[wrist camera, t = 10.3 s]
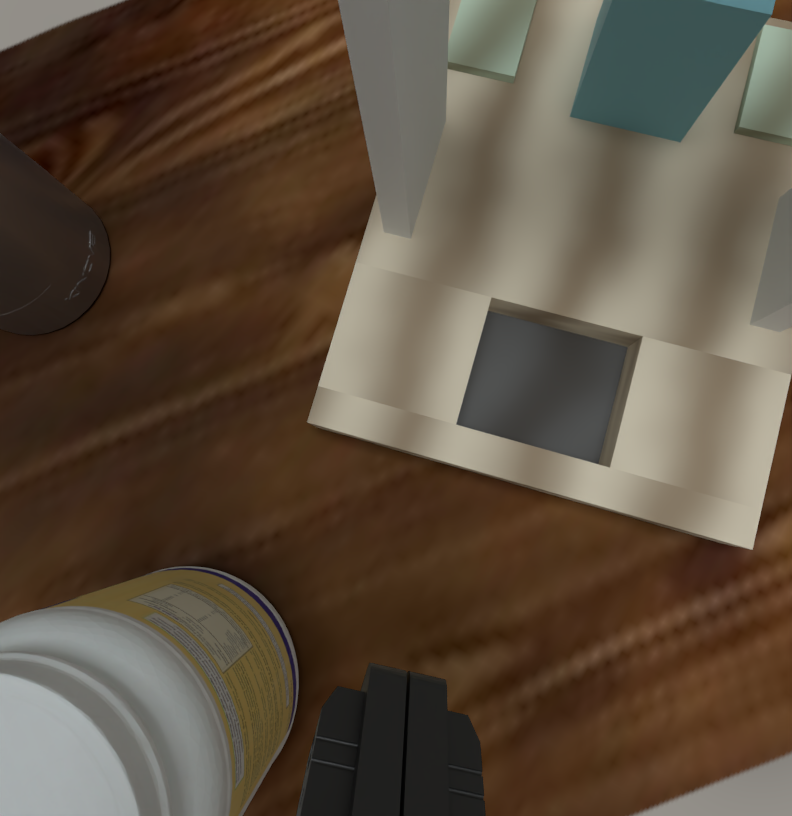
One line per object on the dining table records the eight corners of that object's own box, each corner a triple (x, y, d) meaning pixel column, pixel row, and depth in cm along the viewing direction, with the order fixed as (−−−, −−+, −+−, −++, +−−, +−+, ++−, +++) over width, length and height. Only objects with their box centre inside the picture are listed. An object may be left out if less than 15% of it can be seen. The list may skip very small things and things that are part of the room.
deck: (317, 427, 35) (304, 421, 32) (449, -7, 38) (450, -58, 35) (723, 544, 33) (759, 551, 30) (830, 74, 36) (874, 29, 32)
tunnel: (384, 232, 33) (226, -562, 8) (419, 114, 34) (377, -953, 9) (779, 332, 31) (2212, -306, 6) (808, 205, 32) (2195, -835, 7)
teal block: (569, 116, 33) (618, -18, 25) (597, 18, 34) (654, -147, 25) (680, 142, 33) (771, 14, 24) (706, 41, 34) (804, -119, 25)
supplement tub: (151, 526, 35) (-105, 562, 18) (342, 623, 34) (253, 757, 17) (49, 729, 34) (-320, 963, 17) (243, 837, 33) (44, 1204, 16)
